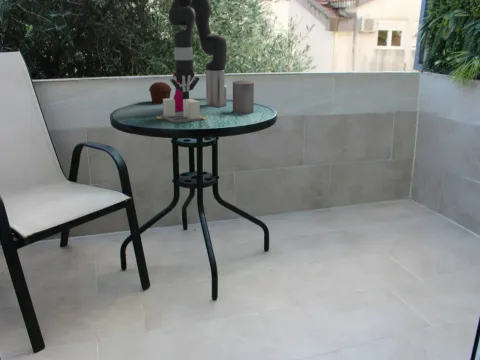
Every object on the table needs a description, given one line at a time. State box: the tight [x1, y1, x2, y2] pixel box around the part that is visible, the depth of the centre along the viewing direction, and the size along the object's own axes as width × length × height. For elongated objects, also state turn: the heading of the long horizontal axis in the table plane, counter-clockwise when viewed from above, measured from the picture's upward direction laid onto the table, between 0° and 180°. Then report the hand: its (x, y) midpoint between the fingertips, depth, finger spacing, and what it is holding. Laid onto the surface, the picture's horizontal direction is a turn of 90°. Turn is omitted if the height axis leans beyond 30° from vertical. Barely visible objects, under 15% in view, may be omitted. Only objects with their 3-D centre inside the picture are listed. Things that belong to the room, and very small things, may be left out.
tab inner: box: [162, 97, 176, 116], centre depth 194 cm, size 4×3×8 cm
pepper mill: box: [172, 72, 183, 112], centre depth 208 cm, size 7×7×20 cm
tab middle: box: [182, 98, 195, 117], centre depth 193 cm, size 4×3×8 cm
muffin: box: [148, 81, 172, 104], centre depth 235 cm, size 12×11×10 cm
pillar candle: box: [232, 78, 255, 115], centre depth 211 cm, size 10×10×15 cm
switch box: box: [153, 112, 210, 124], centre depth 193 cm, size 20×15×2 cm
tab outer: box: [187, 99, 201, 119], centre depth 189 cm, size 4×3×8 cm
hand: (185, 100), depth 196 cm, fingers closed
